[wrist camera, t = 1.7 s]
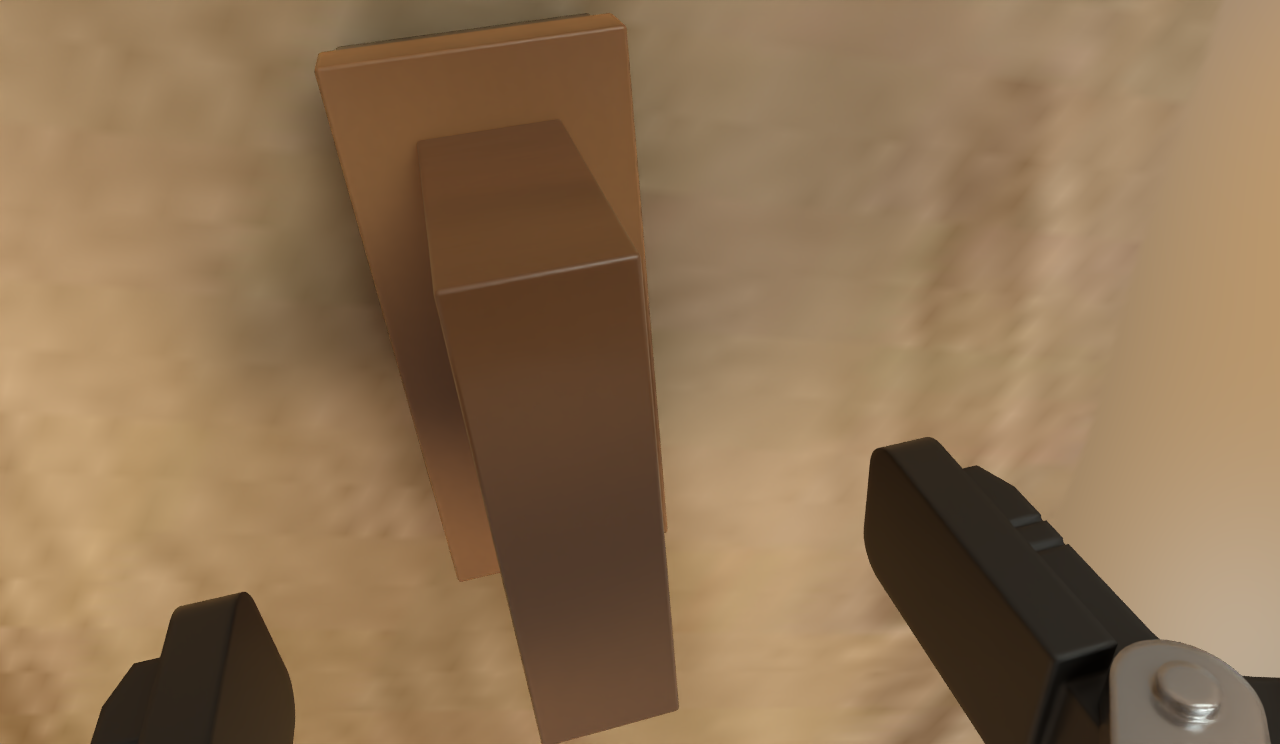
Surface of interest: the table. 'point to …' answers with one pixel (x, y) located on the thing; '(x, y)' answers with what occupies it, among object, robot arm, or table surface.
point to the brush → (524, 335)
